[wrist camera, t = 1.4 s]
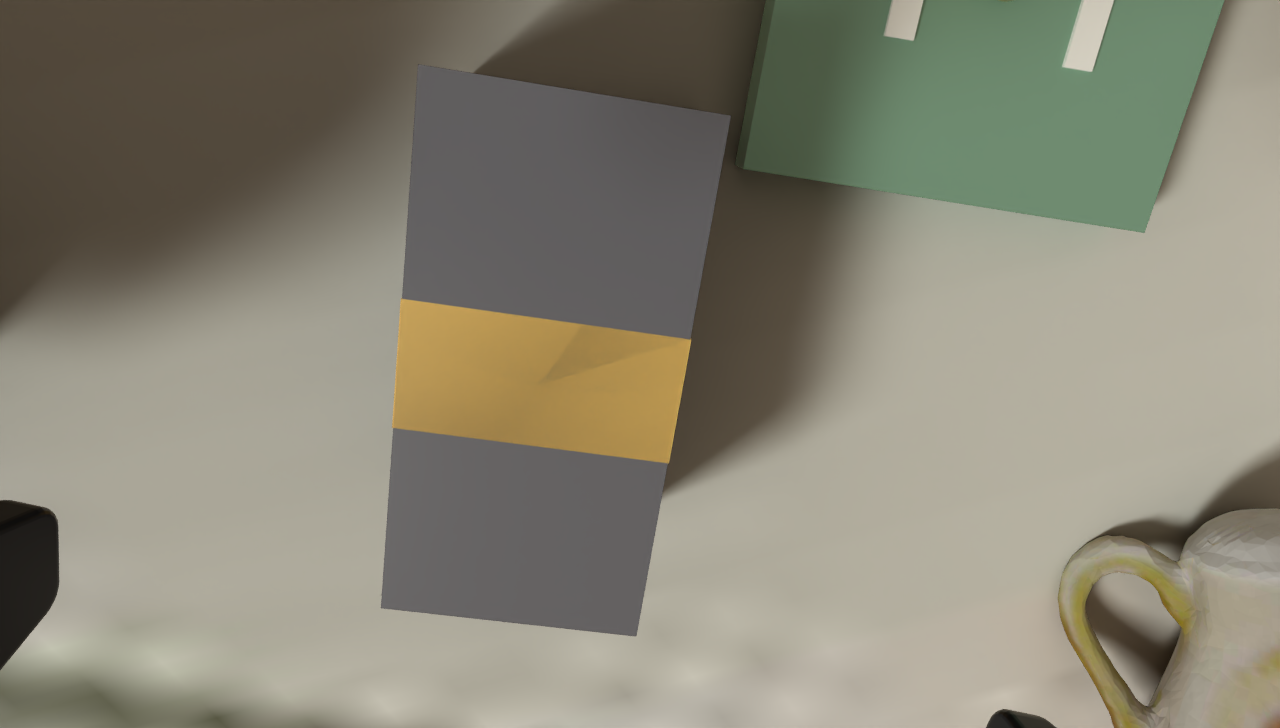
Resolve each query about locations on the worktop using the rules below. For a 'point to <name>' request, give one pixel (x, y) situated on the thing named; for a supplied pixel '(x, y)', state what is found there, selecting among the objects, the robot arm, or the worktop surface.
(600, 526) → the block
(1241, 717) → the grey lumpy rounded lump
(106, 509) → the worktop surface
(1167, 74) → the board
